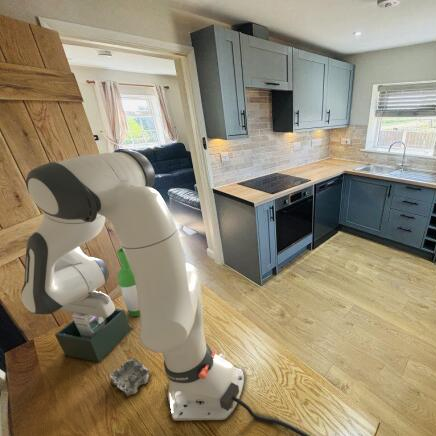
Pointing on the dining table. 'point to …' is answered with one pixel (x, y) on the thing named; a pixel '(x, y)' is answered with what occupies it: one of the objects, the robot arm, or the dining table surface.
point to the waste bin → (94, 338)
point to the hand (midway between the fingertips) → (91, 320)
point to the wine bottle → (128, 285)
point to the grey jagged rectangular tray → (130, 376)
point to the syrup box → (87, 324)
